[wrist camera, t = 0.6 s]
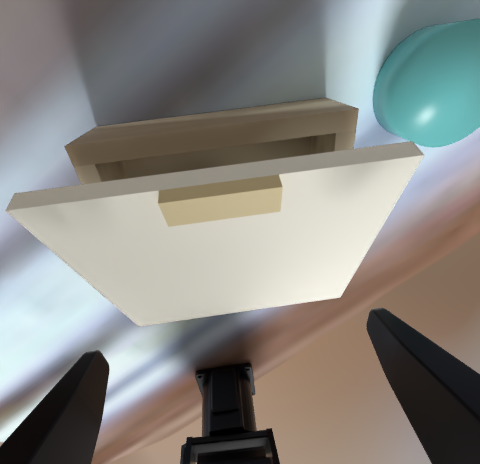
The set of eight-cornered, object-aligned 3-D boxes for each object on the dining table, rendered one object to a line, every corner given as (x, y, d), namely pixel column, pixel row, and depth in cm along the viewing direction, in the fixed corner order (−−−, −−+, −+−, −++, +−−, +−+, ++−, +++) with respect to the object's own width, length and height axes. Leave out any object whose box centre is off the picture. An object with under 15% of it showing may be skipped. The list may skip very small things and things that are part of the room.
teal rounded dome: (450, 129, 19) (487, 140, 16) (364, 140, 18) (389, 153, 16) (484, 19, 15) (539, 11, 13) (381, 31, 15) (415, 26, 13)
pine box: (315, 252, 23) (335, 288, 19) (152, 275, 23) (141, 316, 19) (325, 97, 16) (358, 108, 13) (96, 126, 16) (64, 146, 13)
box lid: (336, 286, 19) (343, 305, 18) (140, 315, 19) (138, 335, 18) (412, 141, 10) (434, 166, 9) (14, 193, 9) (-3, 224, 8)
